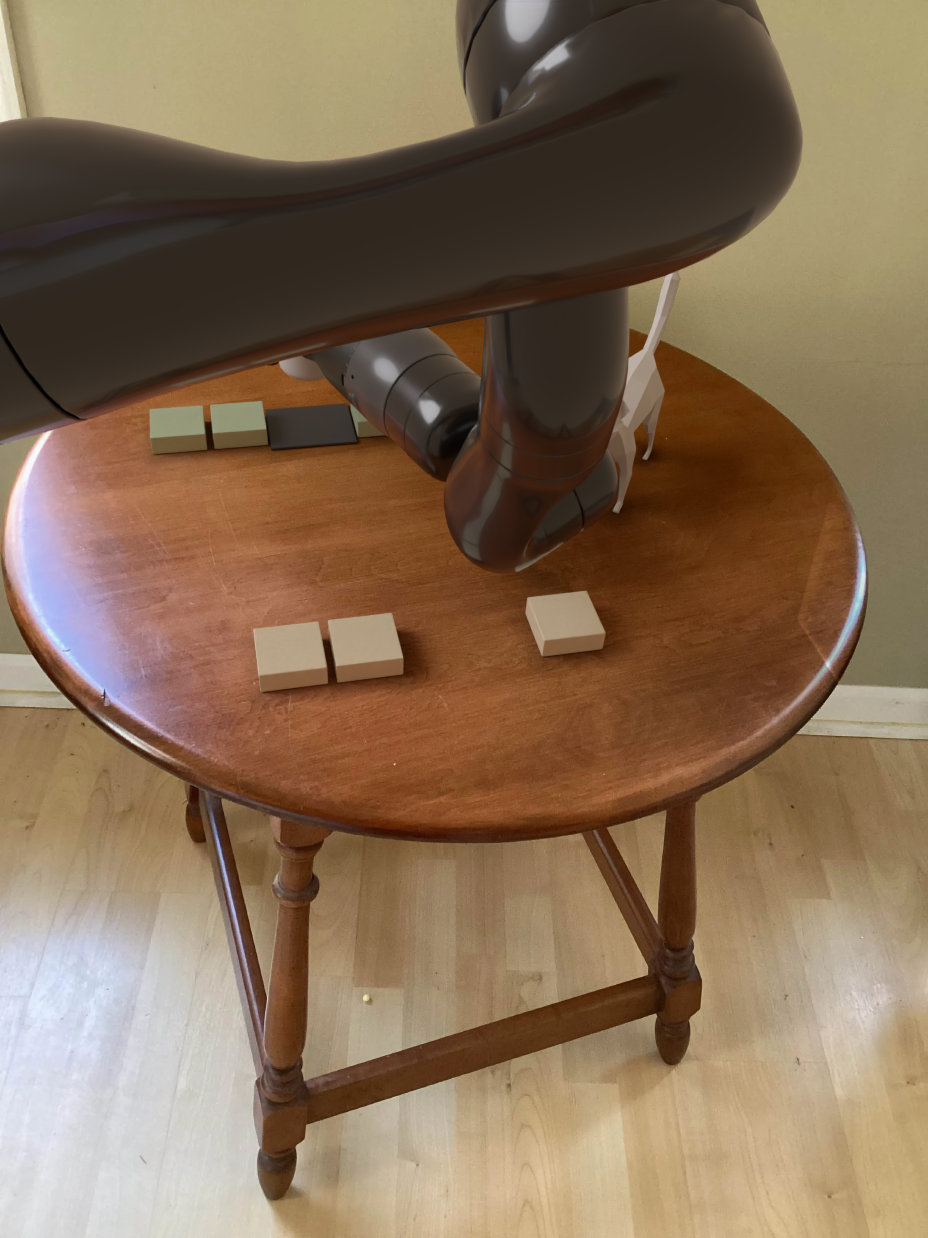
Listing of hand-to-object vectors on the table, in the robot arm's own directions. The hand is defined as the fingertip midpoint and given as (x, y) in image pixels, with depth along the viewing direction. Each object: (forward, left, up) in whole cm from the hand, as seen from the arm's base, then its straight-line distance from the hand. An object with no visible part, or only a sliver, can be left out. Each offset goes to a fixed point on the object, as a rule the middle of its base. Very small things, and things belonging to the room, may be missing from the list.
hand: (289, 275), depth 83 cm
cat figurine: (+25, -12, -13) cm, 31 cm away
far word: (-1, -2, -13) cm, 13 cm away
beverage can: (+1, -3, -7) cm, 8 cm away
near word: (+5, -30, -13) cm, 33 cm away
